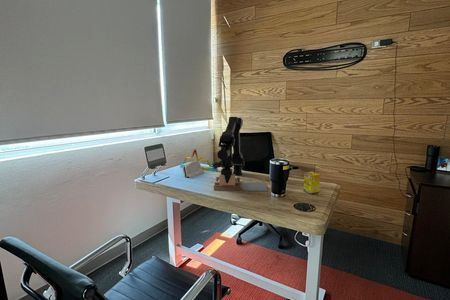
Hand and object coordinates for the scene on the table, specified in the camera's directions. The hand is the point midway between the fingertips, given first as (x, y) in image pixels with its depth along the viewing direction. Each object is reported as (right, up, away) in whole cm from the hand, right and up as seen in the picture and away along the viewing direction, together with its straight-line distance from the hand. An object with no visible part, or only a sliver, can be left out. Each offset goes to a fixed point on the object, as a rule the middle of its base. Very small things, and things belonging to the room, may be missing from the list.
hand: (227, 182), depth 141 cm
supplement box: (+47, -5, -5) cm, 47 cm away
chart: (-21, +4, +43) cm, 48 cm away
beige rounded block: (-24, +1, +29) cm, 37 cm away
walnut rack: (0, -3, +6) cm, 6 cm away
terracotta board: (0, -4, +1) cm, 4 cm away
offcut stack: (0, -2, +11) cm, 11 cm away
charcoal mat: (+16, -3, +3) cm, 17 cm away
